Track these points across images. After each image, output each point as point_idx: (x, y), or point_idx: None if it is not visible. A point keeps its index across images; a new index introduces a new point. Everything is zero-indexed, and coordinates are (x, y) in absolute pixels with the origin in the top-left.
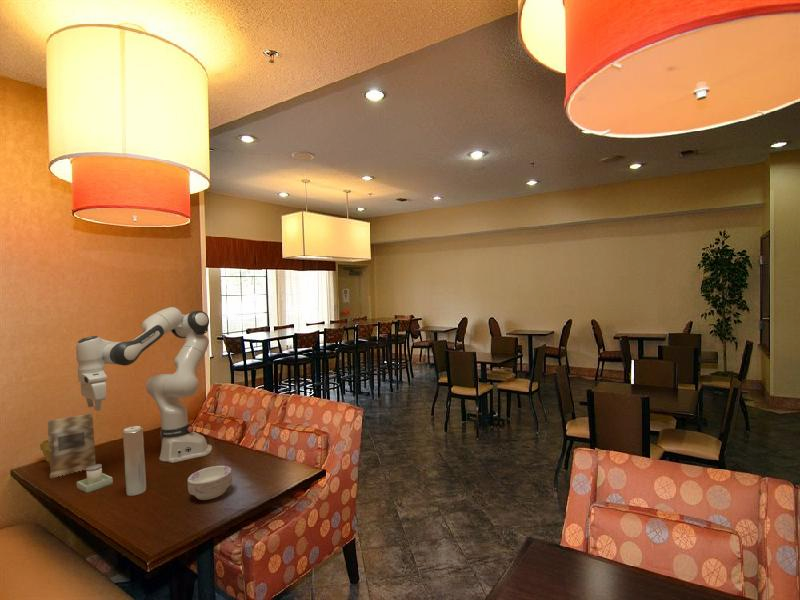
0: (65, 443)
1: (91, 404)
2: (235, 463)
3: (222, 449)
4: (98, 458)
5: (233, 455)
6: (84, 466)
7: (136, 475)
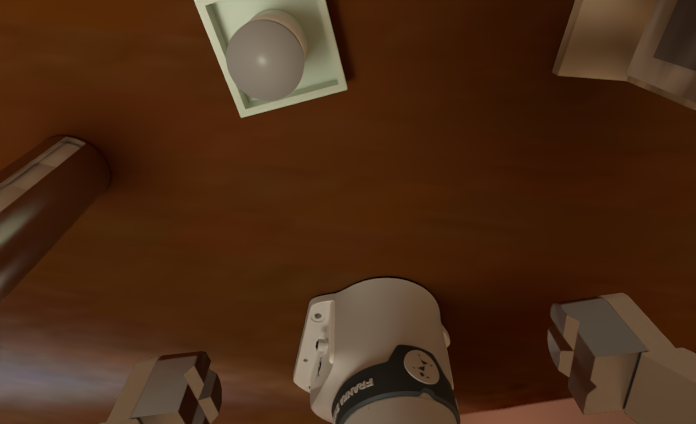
0: None
1: (575, 368)
2: None
3: None
4: None
5: (228, 418)
6: (596, 26)
7: None
